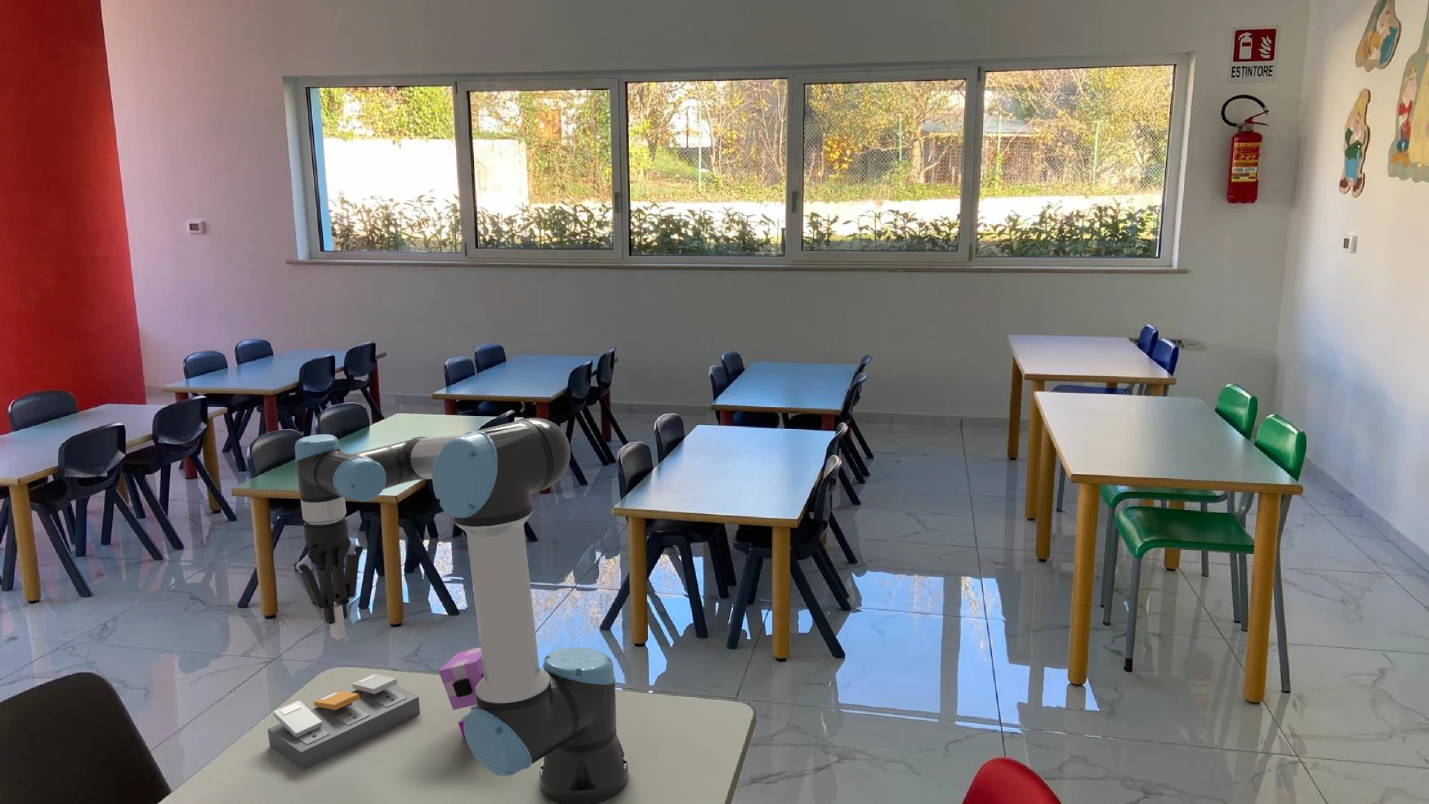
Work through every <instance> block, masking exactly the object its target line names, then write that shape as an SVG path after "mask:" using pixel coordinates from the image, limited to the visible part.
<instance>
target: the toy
mask: <svg viewBox="0 0 1429 804" xmlns="http://www.w3.org/2000/svg"><path fill="white" fill-rule="evenodd" d="M438 673H439V676H440V678H441V681H442V684H443V688H444V689H445V691H446V694H447V697H448V700H449V702H450V705H451V708H452V710H453V711H456V710H460V709H464V708H468V707H469V708H470V711H471V710H473V709H476V708H477V700H476V690H475V689H476V686H477V684H478V683H479V682H480V681H481V679H482V678H483V677H484V673H483V665H482V657H481V649H480V646H479V647H477V648H476V647H475V648H472V649H468V650H467V649H466V650H464V651H459V652H457V653H456V654H455V655H454V656H453V657H452V658H451V659H449V661H448V662H446V664H444V665H443V666H442V667H441V668H440V669H439V670H438ZM466 716H467V714H465V715H463V717H462V718H461V719H460V720H459V721H458V722H457V723H458V727H459V729H460V731H461V732H460V733H461V735H462V736H465V734H464V720H465V718H466Z"/></svg>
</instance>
